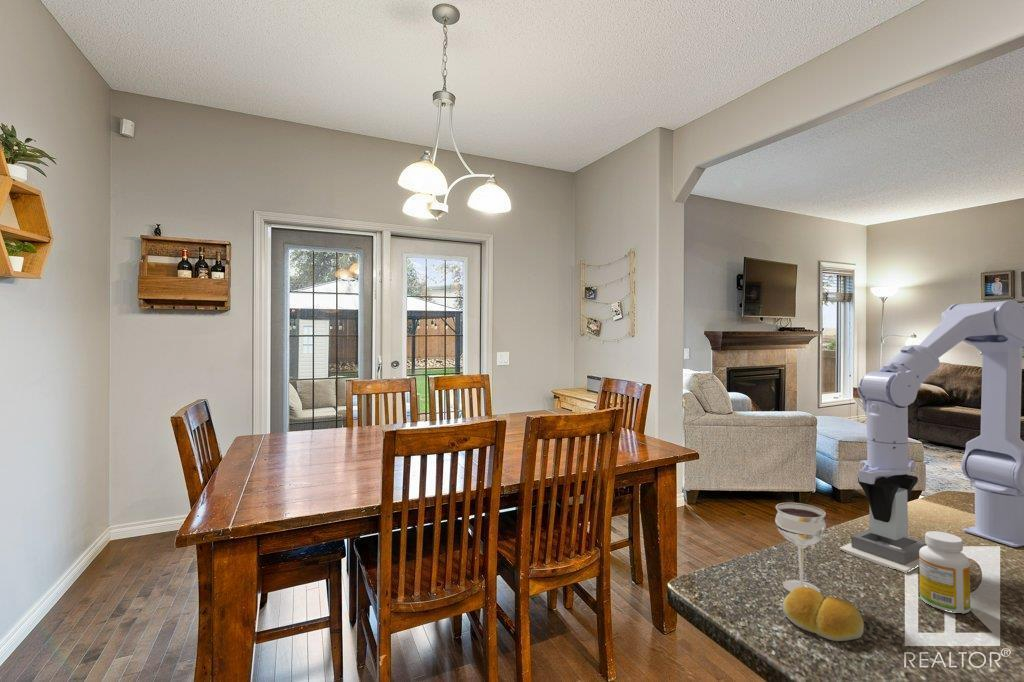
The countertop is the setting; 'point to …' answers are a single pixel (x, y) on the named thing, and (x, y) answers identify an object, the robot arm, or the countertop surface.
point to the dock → (885, 550)
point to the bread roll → (823, 614)
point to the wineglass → (800, 532)
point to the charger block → (893, 518)
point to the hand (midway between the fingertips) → (888, 517)
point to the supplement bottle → (944, 573)
